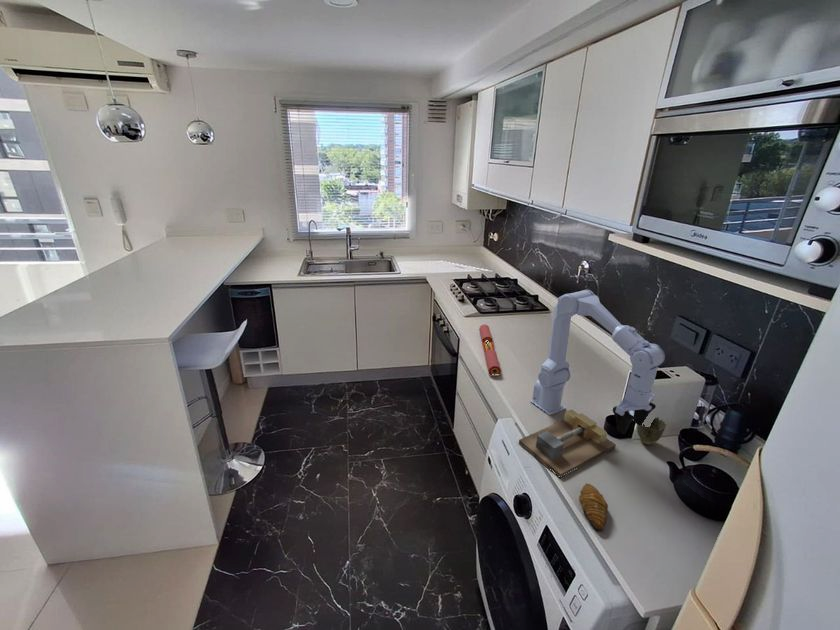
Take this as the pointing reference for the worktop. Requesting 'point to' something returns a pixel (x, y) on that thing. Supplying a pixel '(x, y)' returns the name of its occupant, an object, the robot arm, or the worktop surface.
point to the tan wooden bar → (585, 426)
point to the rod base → (564, 447)
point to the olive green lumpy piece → (651, 431)
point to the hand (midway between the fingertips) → (629, 427)
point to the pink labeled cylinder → (489, 350)
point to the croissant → (594, 506)
